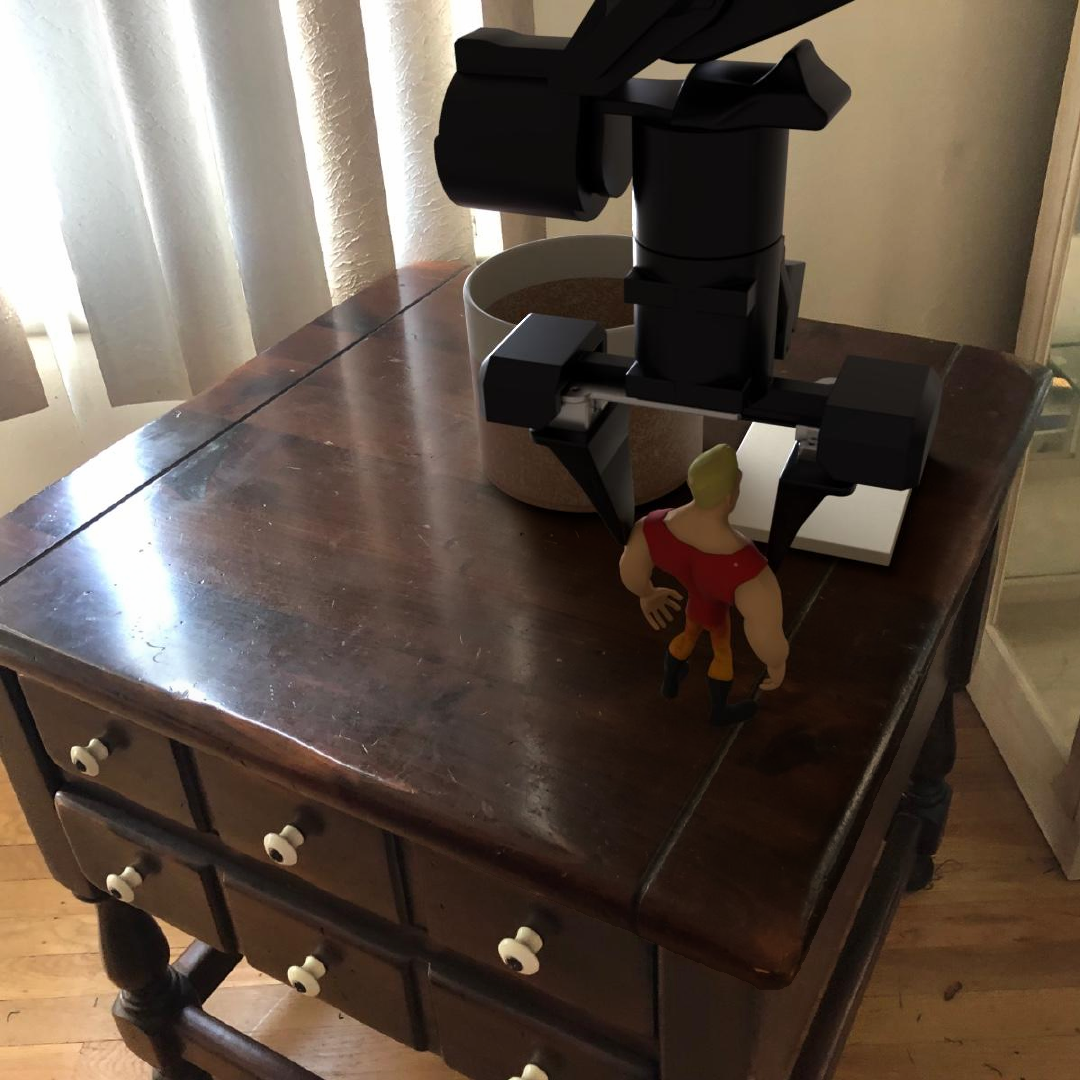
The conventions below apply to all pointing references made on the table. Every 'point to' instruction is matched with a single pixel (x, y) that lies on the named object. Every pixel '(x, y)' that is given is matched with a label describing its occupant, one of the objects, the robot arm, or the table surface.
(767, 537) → the display board
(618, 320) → the planter
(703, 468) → the action figure
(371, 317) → the table surface
